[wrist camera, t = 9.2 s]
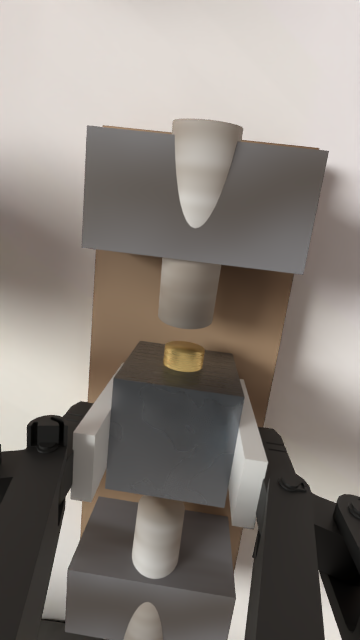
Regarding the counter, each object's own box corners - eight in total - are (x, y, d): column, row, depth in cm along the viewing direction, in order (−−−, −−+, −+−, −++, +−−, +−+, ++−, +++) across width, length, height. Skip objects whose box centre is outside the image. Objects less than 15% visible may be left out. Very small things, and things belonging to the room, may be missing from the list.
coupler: (141, 326, 16) (114, 358, 12) (235, 339, 16) (248, 377, 11) (130, 435, 18) (103, 504, 13) (216, 448, 18) (221, 523, 13)
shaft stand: (227, 558, 22) (240, 703, 15) (89, 536, 22) (38, 666, 15) (304, 160, 16) (384, 91, 9) (114, 140, 16) (49, 58, 9)
